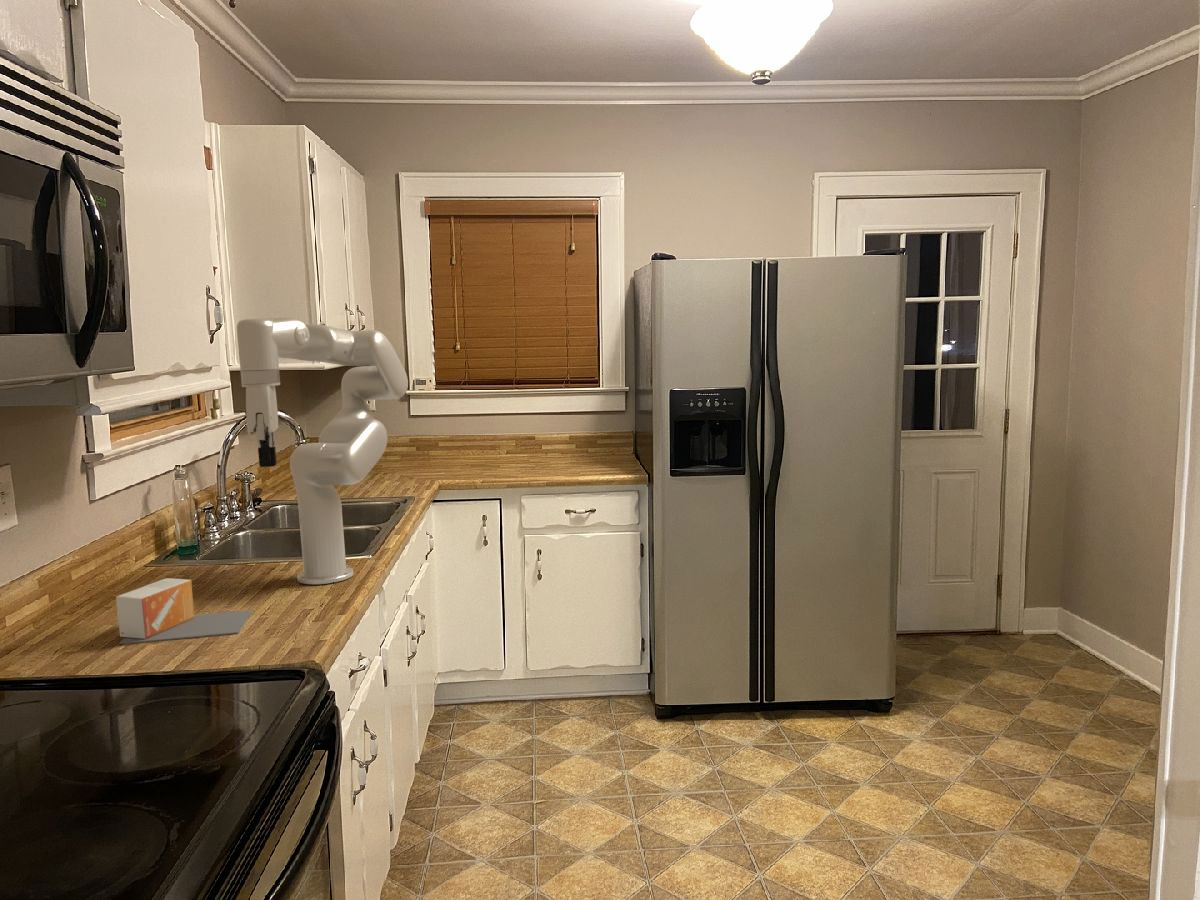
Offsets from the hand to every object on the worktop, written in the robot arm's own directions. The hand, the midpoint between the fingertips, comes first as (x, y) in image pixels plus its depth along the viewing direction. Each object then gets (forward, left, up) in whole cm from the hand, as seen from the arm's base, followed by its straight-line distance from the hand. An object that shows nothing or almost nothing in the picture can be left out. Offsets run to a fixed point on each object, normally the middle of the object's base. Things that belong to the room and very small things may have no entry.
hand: (268, 465), depth 186 cm
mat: (+14, -15, -29) cm, 36 cm away
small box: (+7, -18, -25) cm, 31 cm away
